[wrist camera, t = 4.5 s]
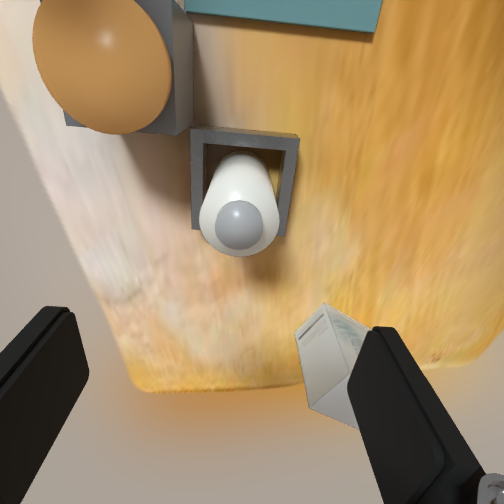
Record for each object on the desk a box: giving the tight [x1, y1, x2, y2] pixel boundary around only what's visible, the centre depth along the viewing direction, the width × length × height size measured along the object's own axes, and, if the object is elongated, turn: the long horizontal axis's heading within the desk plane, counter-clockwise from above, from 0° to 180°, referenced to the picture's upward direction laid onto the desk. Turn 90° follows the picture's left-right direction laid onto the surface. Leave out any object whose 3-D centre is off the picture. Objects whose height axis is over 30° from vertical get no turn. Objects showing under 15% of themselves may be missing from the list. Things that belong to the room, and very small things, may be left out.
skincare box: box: [294, 303, 372, 429], centre depth 33 cm, size 10×6×10 cm, turn 56°
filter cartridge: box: [199, 151, 279, 257], centre depth 23 cm, size 5×5×11 cm
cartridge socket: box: [190, 125, 300, 236], centre depth 27 cm, size 9×9×2 cm
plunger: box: [32, 0, 172, 134], centre depth 18 cm, size 7×7×5 cm
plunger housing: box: [40, 0, 194, 136], centre depth 20 cm, size 7×7×7 cm
